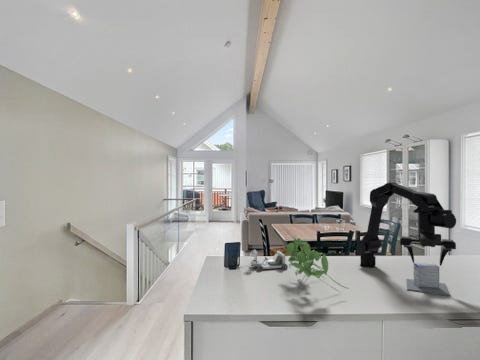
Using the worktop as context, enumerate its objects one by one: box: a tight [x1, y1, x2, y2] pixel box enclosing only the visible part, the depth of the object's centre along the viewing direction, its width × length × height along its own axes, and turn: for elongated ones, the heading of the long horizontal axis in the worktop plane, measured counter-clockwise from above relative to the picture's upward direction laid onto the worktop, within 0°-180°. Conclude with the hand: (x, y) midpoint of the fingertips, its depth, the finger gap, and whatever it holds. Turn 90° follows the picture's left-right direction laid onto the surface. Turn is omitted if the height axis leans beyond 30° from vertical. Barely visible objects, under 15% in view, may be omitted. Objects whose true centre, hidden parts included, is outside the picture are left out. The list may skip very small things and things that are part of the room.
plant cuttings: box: [284, 237, 349, 294], centre depth 124 cm, size 35×17×22 cm
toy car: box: [249, 249, 289, 272], centre depth 152 cm, size 18×10×12 cm
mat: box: [406, 278, 451, 297], centre depth 122 cm, size 14×14×1 cm
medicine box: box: [413, 262, 440, 288], centre depth 122 cm, size 8×4×9 cm, turn 83°
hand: (426, 264), depth 122 cm, fingers open, 9 cm apart
